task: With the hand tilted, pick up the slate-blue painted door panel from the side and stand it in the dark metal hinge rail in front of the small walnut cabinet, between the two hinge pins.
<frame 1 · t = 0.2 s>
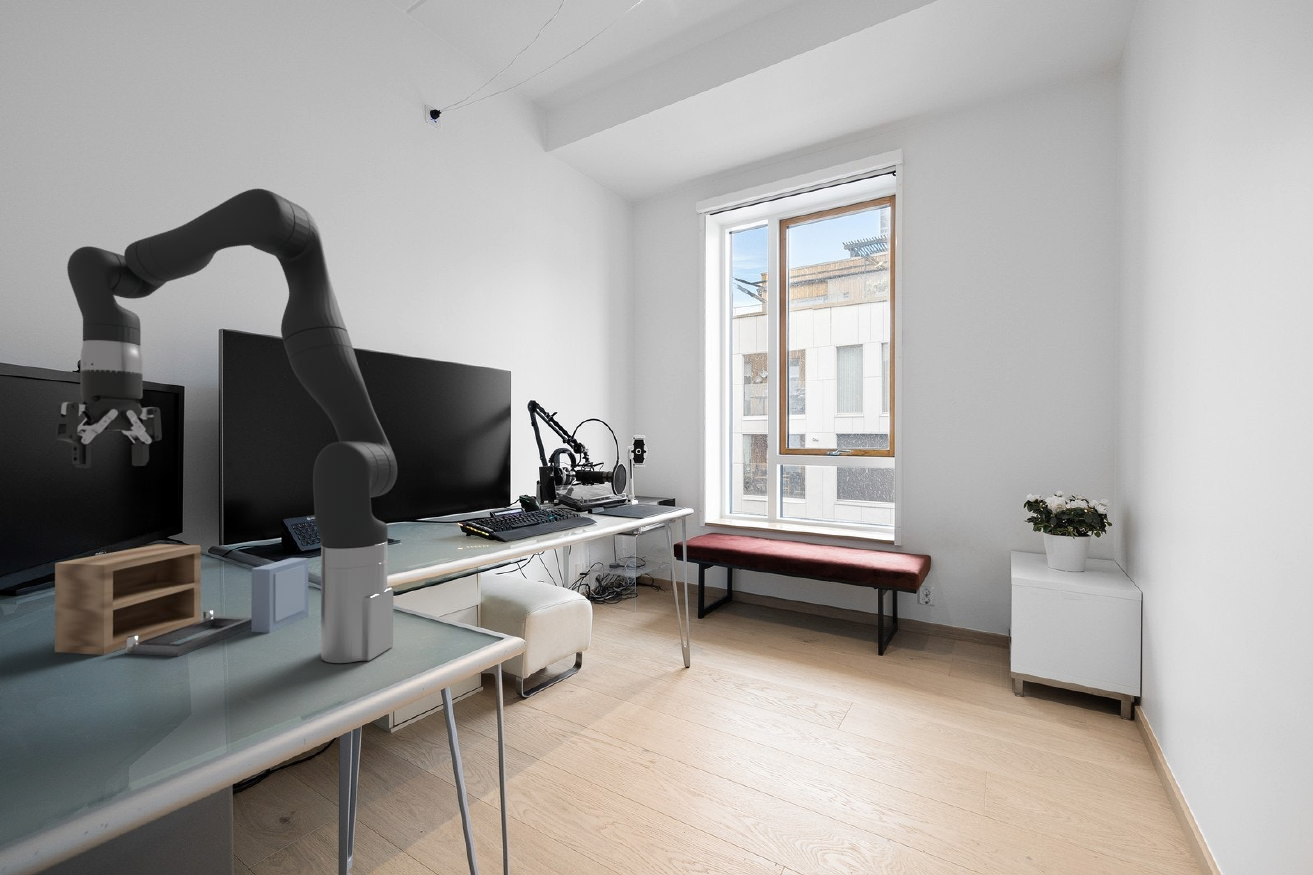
hand: (112, 466, 95), 29 cm above the table, tool pointing down, fingers open, 8 cm apart
cabinet: (133, 635, 96), on the table
door: (281, 623, 102), on the table
hinge rail: (198, 639, 94), on the table
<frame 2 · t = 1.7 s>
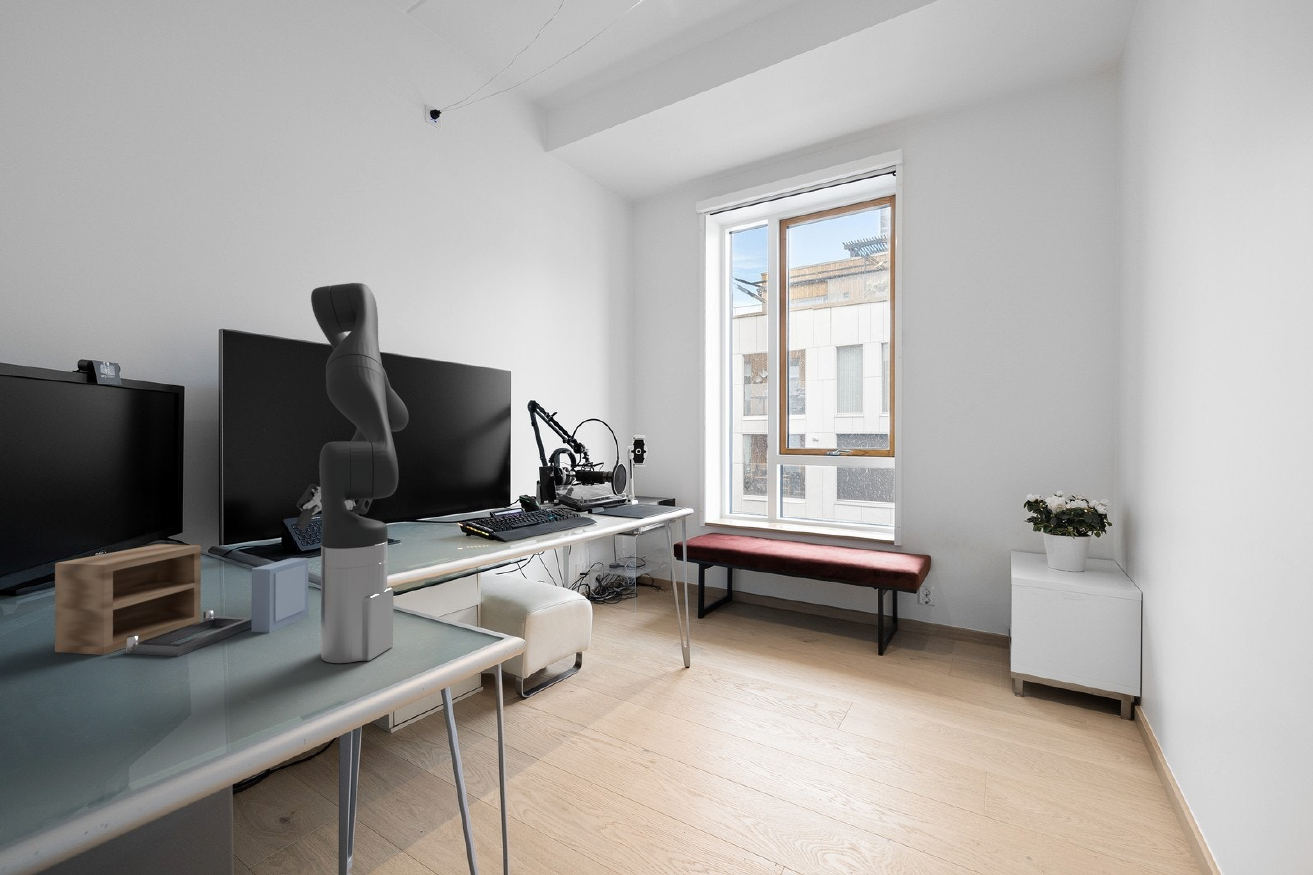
hand: (320, 528, 113), 16 cm above the table, tool tilted 45°, fingers open, 8 cm apart
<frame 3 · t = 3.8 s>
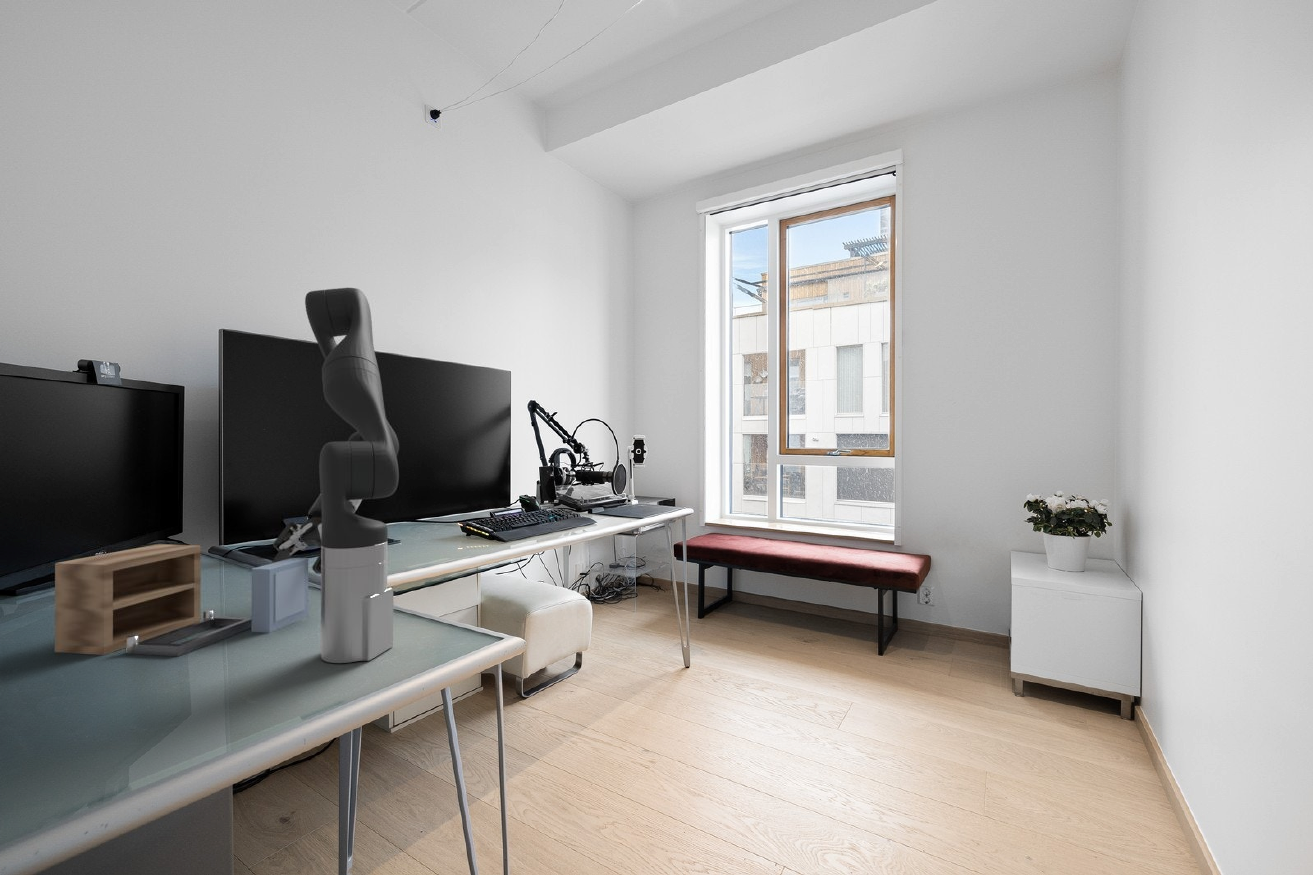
hand: (295, 570, 105), 9 cm above the table, tool tilted 45°, fingers open, 8 cm apart
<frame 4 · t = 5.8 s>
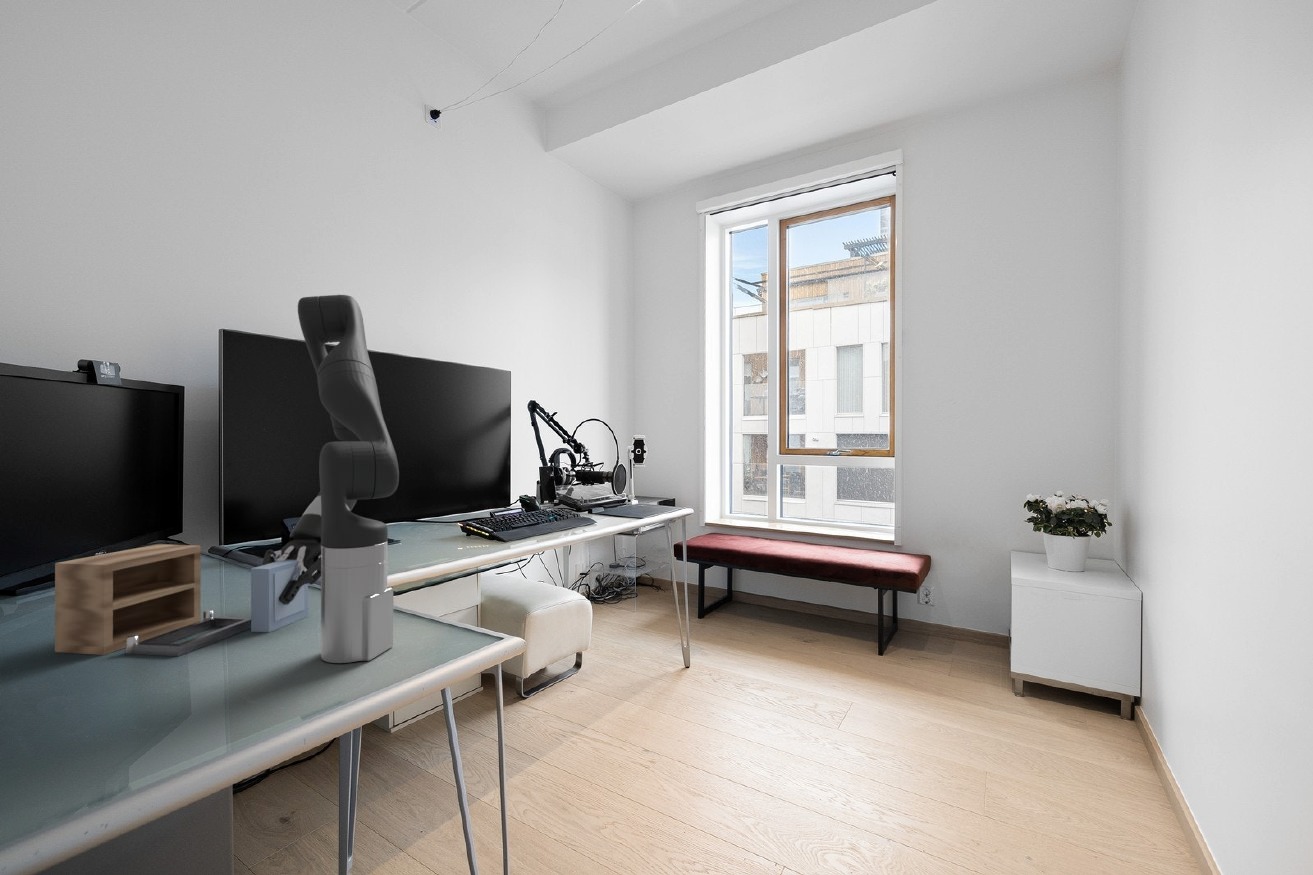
hand: (272, 601, 100), 5 cm above the table, tool tilted 45°, fingers closed on door, 3 cm apart
door: (280, 623, 102), on the table, touching gripper
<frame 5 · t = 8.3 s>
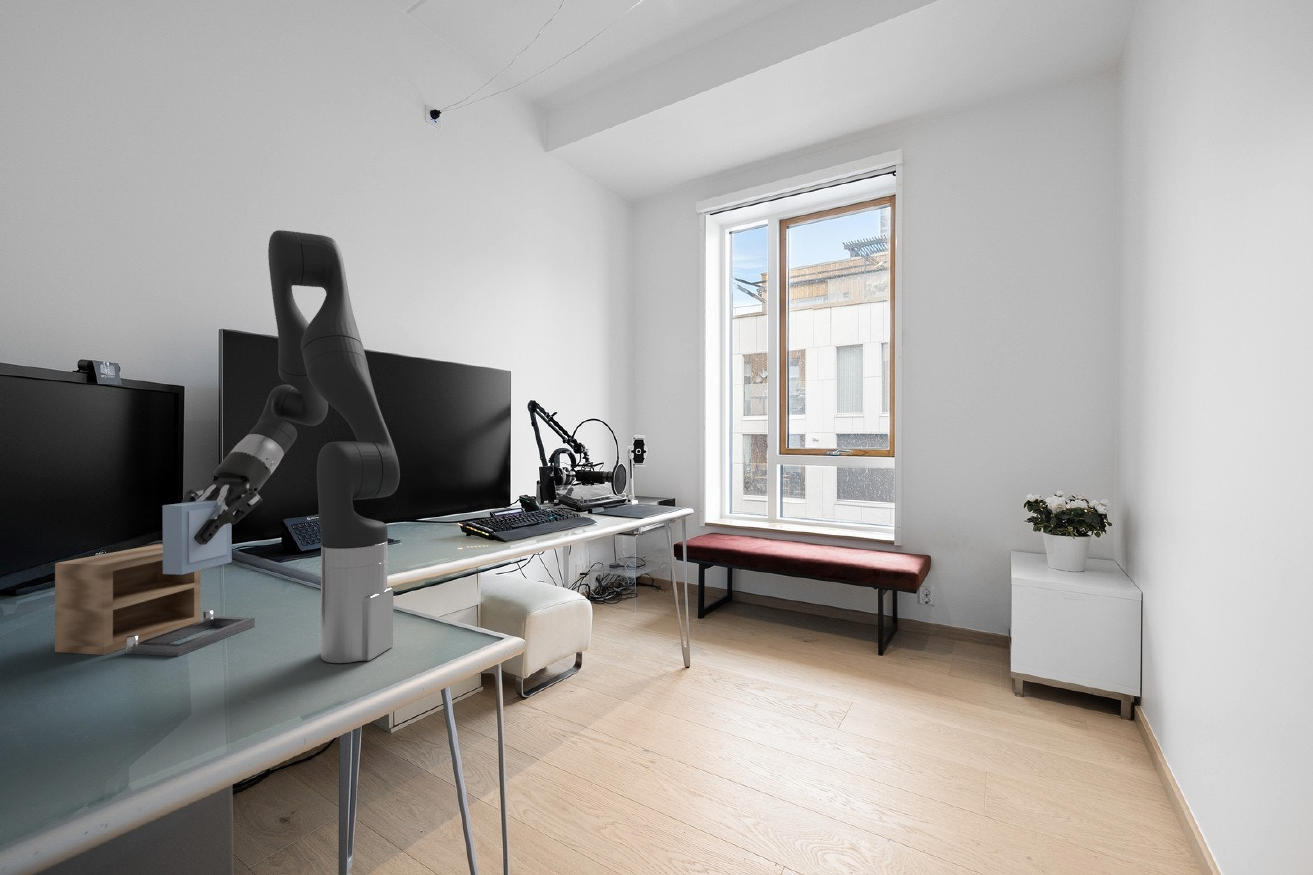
hand: (188, 541, 92), 17 cm above the table, tool tilted 45°, fingers closed on door, 3 cm apart
door: (198, 567, 94), point 12 cm above the table, touching gripper
when the fingers open (5 cm above the table, at t = 10.7 s): door stays where it is, resting in hinge rail.
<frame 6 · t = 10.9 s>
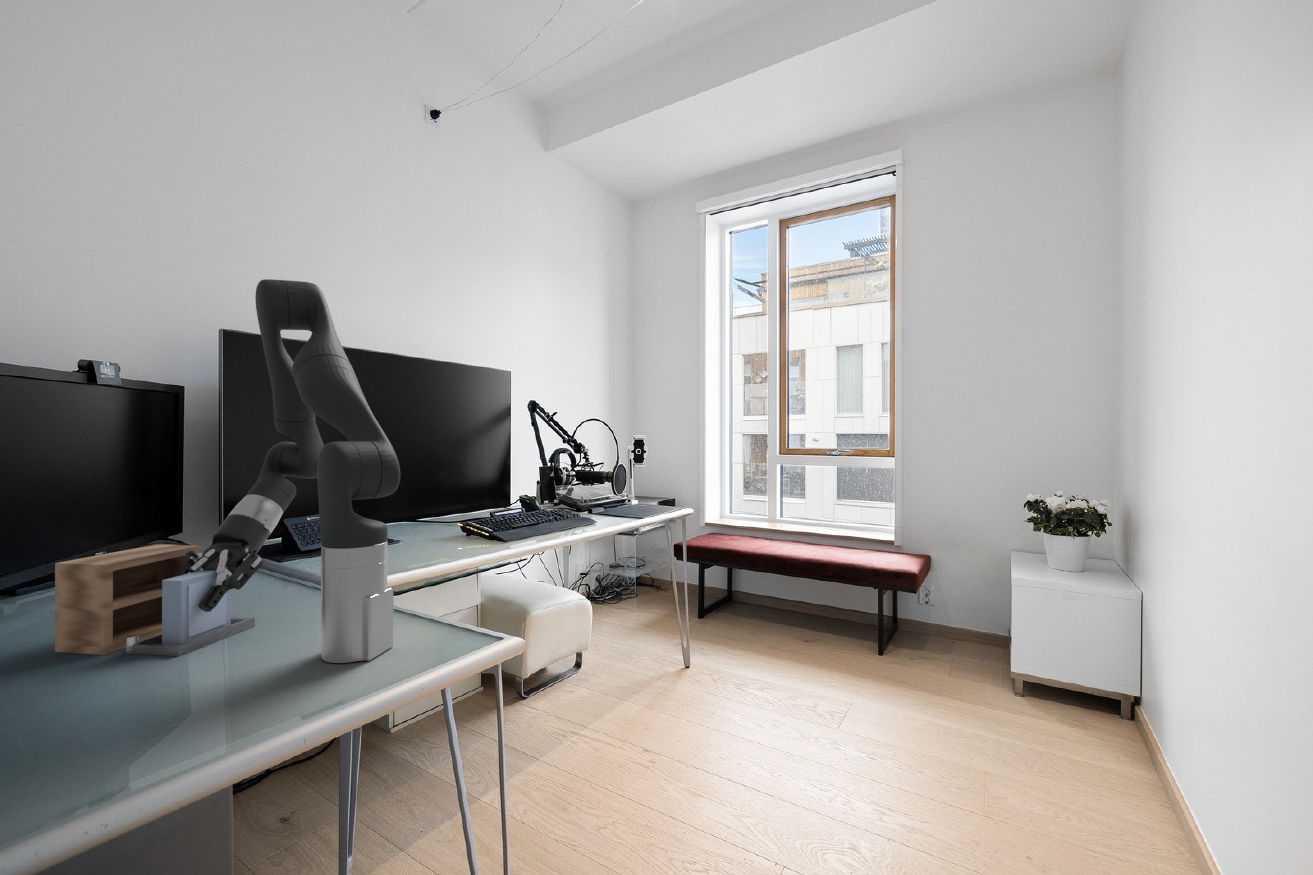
hand: (188, 608, 92), 6 cm above the table, tool tilted 45°, fingers open, 5 cm apart
door: (198, 639, 94), resting in hinge rail
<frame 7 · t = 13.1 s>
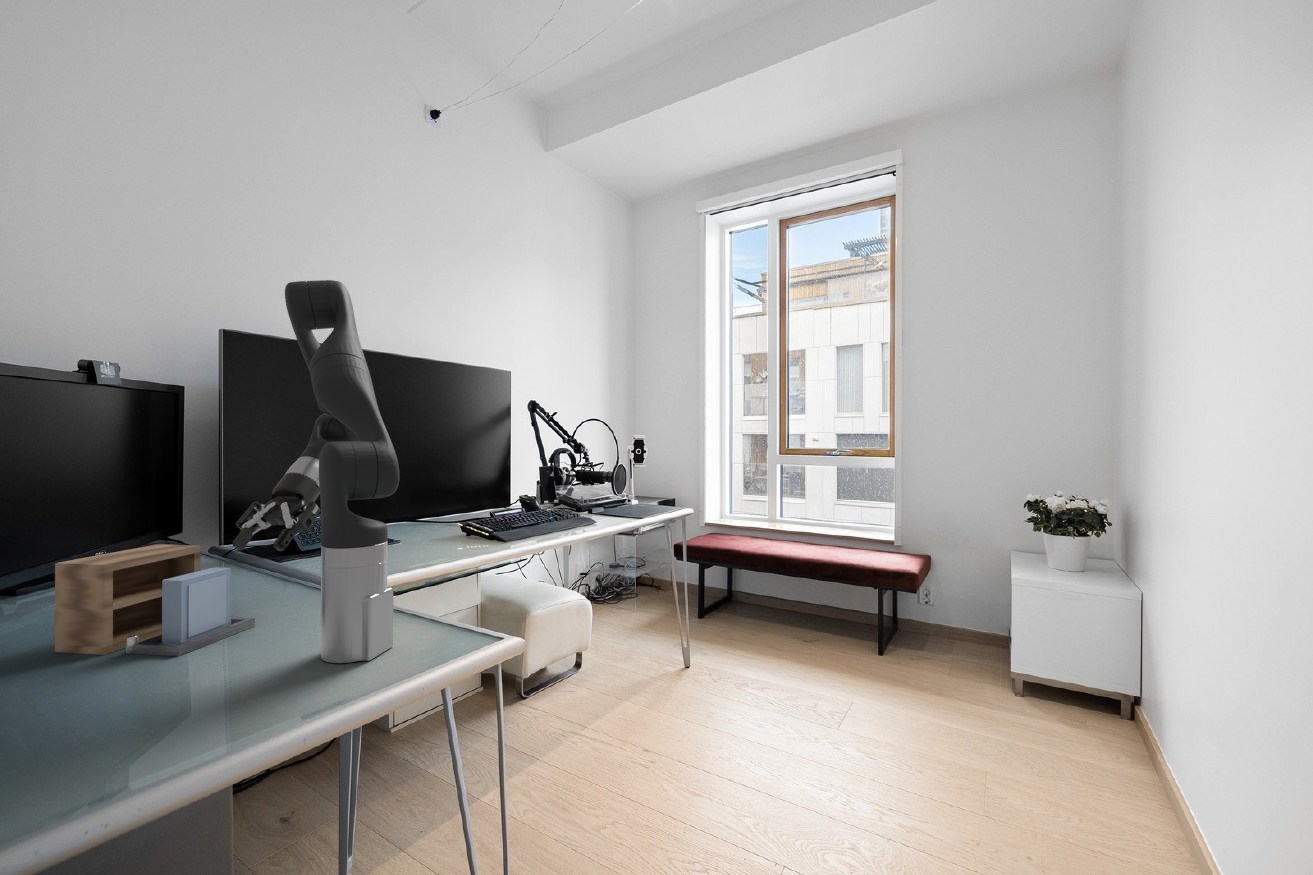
hand: (257, 548, 106), 13 cm above the table, tool tilted 45°, fingers open, 8 cm apart
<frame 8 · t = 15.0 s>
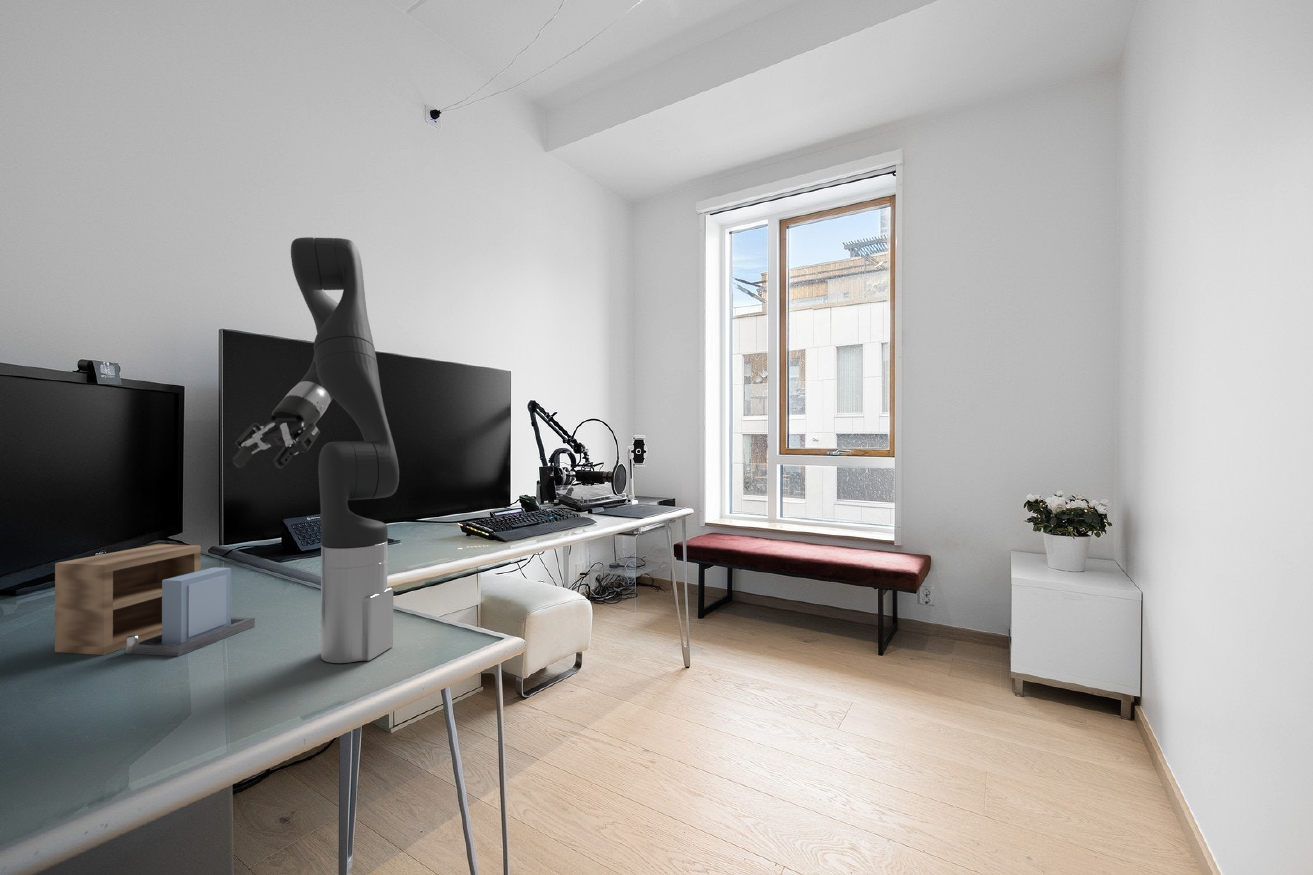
hand: (256, 465, 106), 29 cm above the table, tool tilted 45°, fingers open, 8 cm apart
at the end: door inside the target area (0.1 cm from its centre), resting in hinge rail; door tilted 0°; the gripper is holding nothing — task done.
